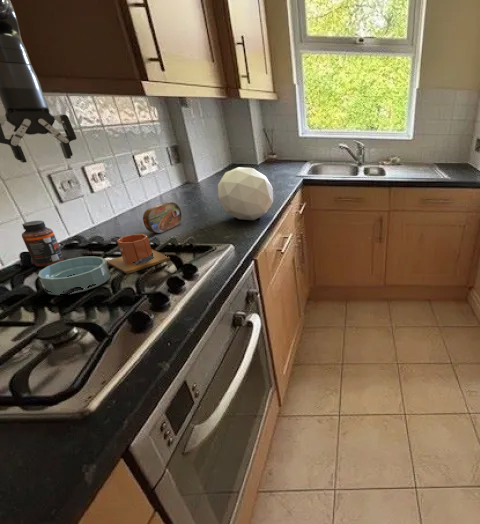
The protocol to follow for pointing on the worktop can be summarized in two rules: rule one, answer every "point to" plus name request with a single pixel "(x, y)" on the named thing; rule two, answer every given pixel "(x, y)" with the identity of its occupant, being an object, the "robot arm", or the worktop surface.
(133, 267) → the board
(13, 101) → the robot arm
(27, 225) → the supplement bottle
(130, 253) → the small bowl
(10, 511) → the worktop surface
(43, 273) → the big bowl
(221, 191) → the ball
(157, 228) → the tin
